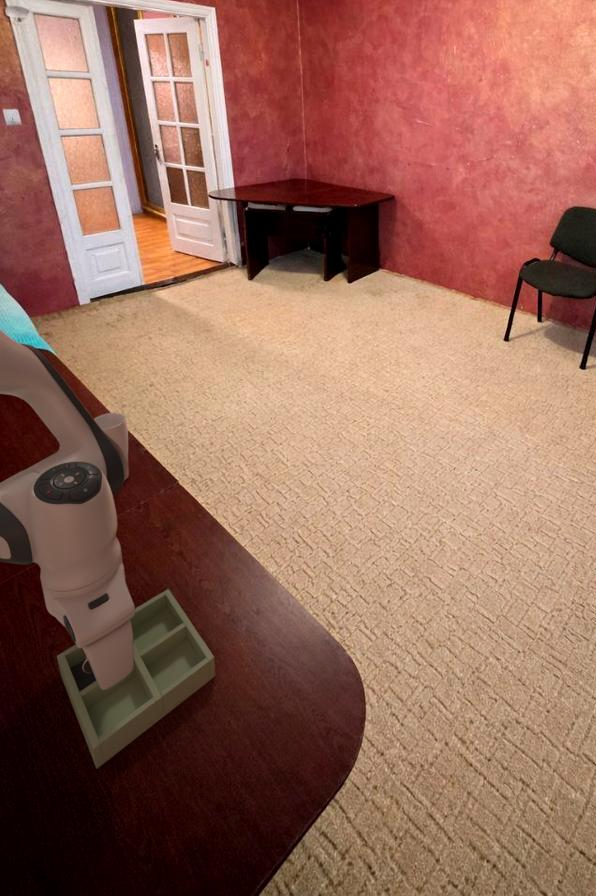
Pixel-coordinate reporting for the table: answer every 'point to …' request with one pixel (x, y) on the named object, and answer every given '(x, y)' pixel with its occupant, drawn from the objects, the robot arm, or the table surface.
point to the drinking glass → (115, 430)
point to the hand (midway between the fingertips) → (97, 654)
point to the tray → (139, 678)
